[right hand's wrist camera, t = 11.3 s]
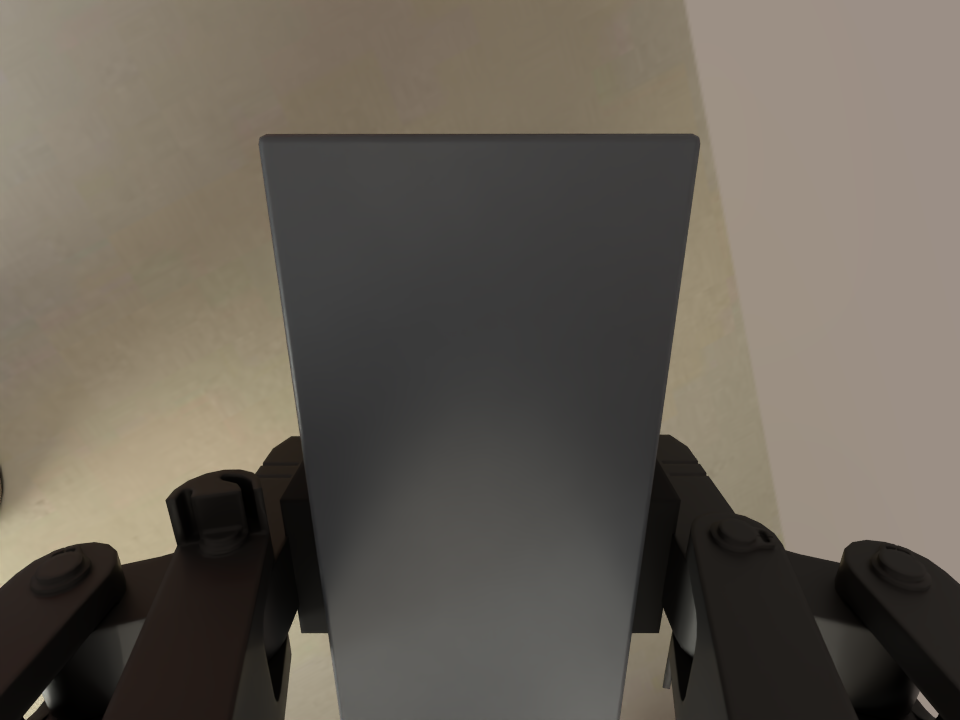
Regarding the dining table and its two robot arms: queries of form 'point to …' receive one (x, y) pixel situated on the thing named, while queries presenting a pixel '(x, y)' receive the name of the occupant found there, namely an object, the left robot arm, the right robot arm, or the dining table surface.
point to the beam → (479, 404)
